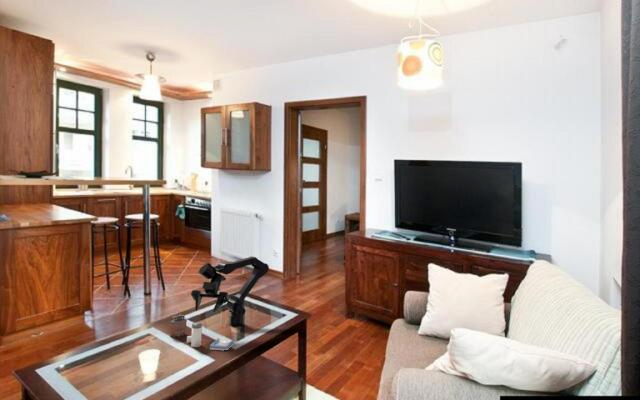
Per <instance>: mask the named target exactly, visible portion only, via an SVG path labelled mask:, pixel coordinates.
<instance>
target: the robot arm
mask: <svg viewBox="0 0 640 400" xmlns="http://www.w3.org/2000/svg"><path fill="white" fill-rule="evenodd" d="M247 266H252V267H253V269H252V273H251V275H250V277H248V279H247V281H246V282H245V283H244V284H243V286H242V287H241V289H240V290H239V291H238V292H237V294H236V295H233V294H232V295H231V296H230V295H229V293H228V292H227V291H221V288H220V287H221V284H222V282H224V281H226V280H227V279H226V276H225V275H229V274H232V273H233V272H234V271H236V270H237V269H241V268H244V267H247ZM269 270H270V267H269V264H267V263H265V262H263V261H262V260H260V259H258V258H257V257H256V256H248V257H245V258H242V259H238V260H235V261H224V262H223V261H221V262H219V263H218V264H217V265H214V266H213V265H212V264H211V263H210V262H206V263H205V264H204V265H202V266H201V267H200V268H199V270H198V274H200V275H201V276H202V277H204V278H205V279H206V280H209V281H204V282H203V284H202V289H203V290H204V292H202V291H201V290H200V289H193V290H191V292H190V295H191V298H192V299H193V300H194V301H195V302H194V303H195V305H194V306H195V308H194V310H195V312H197V311H198V309H199V308H200V306H201V303H202V299H203V298H211V299H216V303H215V304H214V307H213V309H212V310H213V313H215V312H216V311H217V310H218V309H220V307H221V306H223V305H224V304H226V308H227V310H228V312H229V313H230V315H229V320H228V321H229V322H228V323H229V325H230V326H231V327H240V326H244V325H245V323H244V315H245V314H246V309H245V308H244V307H243V306H244V304H245V299H246V298H247V296H248V295H249V294H250V292H251V291H252V290H253V288H254V287H255V285H256V284H257V282H258V281H259V280H260V279H261V278H262V277H264V276H266V274H267V273H268V272H269ZM222 274H223V275H222Z"/></svg>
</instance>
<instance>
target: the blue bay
mask: <svg viewBox="0 0 640 400" xmlns="http://www.w3.org/2000/svg"><path fill="white" fill-rule="evenodd" d="M234 342H235V339H231V341H228V340H227V341H226V340H220V338H216V339H215V340H214V341H213V342H212V343H210V345H209V350H213V351H214V350H215V351H224V350H228V349H229V348H230V347H231V348H232V346H233V345H234V344H235V343H234ZM233 343H234V344H233ZM231 348H230V349H231ZM230 349H229V350H230ZM229 350H228V351H229Z"/></svg>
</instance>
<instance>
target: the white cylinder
mask: <svg viewBox="0 0 640 400" xmlns="http://www.w3.org/2000/svg"><path fill="white" fill-rule="evenodd" d="M202 326H203V323H202V322H200V321H199V322H197V321H196V322H193V323H191V336H192V337H191V342H190V347H192V348H199V347H201V345H202V332H203V327H202Z"/></svg>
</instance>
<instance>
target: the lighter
mask: <svg viewBox="0 0 640 400" xmlns="http://www.w3.org/2000/svg"><path fill="white" fill-rule="evenodd" d="M185 317H186V315H185V314H178V315H173V316H172V318H171V319H172V320H170V332H169V333H170V334H169V338H176V337H175V336H178V337H180V336H179V335H182V334H185V333H186V334H187V322H188V318H185ZM186 334H185V335H186ZM182 336H183V335H182Z"/></svg>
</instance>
